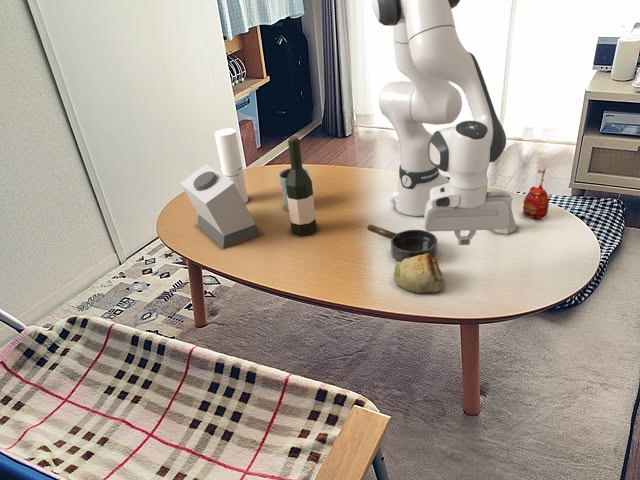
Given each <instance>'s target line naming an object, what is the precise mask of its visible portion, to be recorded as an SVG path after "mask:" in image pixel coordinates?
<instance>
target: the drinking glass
mask: <svg viewBox="0 0 640 480" xmlns="http://www.w3.org/2000/svg"><path fill="white" fill-rule="evenodd" d="M303 169H304V170H305V171H306V173H307V174H308V175H309V176H310V172H309V170H308V169H307V168H305V167H303ZM290 170H291V167H289V168H286V169H284V170H282V171H280V173H278V179H279V181H280V187H281V191H282V195H283V199H284V206H285V209H286V210H287V211H289V207H288V199H287V192H286V184H285V180H286V178H287V176H288V174H289V172H290Z"/></svg>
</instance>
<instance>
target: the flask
mask: <svg viewBox="0 0 640 480" xmlns="http://www.w3.org/2000/svg"><path fill="white" fill-rule="evenodd" d="M511 197H512V196H511ZM512 200H514V197H512ZM508 210H509V225H508V226H507V228H505V229H498V230H492V231H493V232H495V233H498V234H503V235H504V234H505V235H508V234H511V233H514V232H515V231H516V230H517V224H516V220H515V217H514V213H513V210H512V205H511V206H510V208H509V209H508Z"/></svg>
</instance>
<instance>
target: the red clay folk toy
mask: <svg viewBox="0 0 640 480" xmlns="http://www.w3.org/2000/svg"><path fill="white" fill-rule="evenodd" d="M546 168H547V165H545V167H544V169H542V170H541V169H538V170H537V173H538V174H541V173H542V175H541V179H540V183H539V186H538V187H536V186H531V187H530V188H529V191H528V192H527V193H526V195H525V197H524V200H523V206H522V214H523V216H524V217H526V218H530V220H531V219H532V220H536V221H539V220H542V219H543V218H545V217H546V216H547V214H548V211H549V206H550V204H549V203H550V200H549V194H548V193H547V191H546V190H545V189H544V188H543V182H544V181H545V180H544V177H545V173H546Z"/></svg>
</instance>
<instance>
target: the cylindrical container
mask: <svg viewBox="0 0 640 480" xmlns="http://www.w3.org/2000/svg"><path fill="white" fill-rule="evenodd" d="M214 137H215V143H216V147H217V153H218V157H219V162H220V167H221V174H222V175H223V176H224V177H226V178H227V179H229V180H230V181H232V182H233V183H234V184H235V186H236V188H237V190H238V192H239V194H240V195H241V197H242V199H243V201H244V203H245V204H246V203H248V202H249V197H248V192H247V187H246V180H245V175H244V169H243V163H242V157H241V152H240V147H239V140H238V135H237V129H235V128H233V127H231V128H230V127H227V128H226V127H225V128H221V129H218V130H216V131H214Z"/></svg>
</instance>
